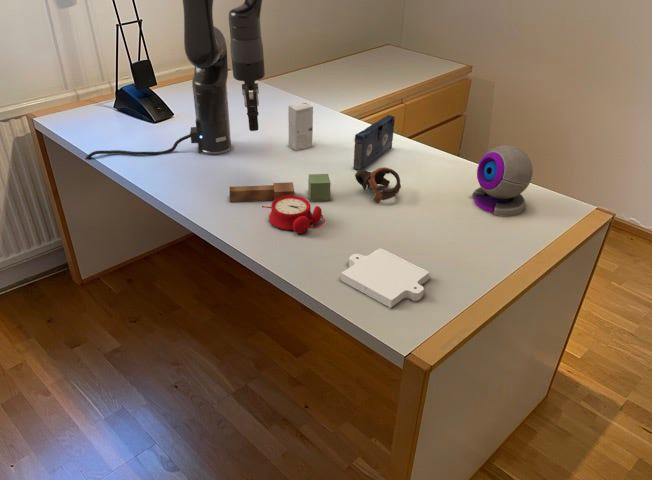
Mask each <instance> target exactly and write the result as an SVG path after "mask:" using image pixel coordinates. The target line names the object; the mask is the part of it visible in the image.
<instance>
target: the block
mask: <svg viewBox="0 0 652 480" xmlns="http://www.w3.org/2000/svg"><path fill="white" fill-rule="evenodd" d="M331 185H332V184H331V179H330V175H329V173H310V174H308V186H307V187H308V196H309V202H327V201H328V202H329V201H331Z"/></svg>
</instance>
